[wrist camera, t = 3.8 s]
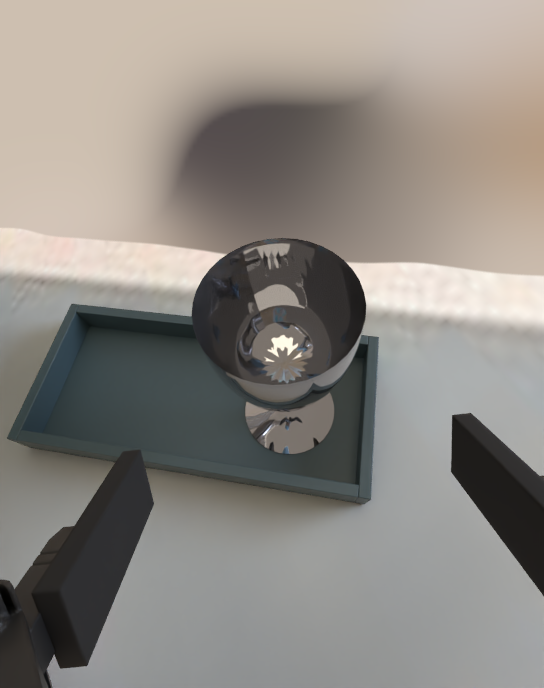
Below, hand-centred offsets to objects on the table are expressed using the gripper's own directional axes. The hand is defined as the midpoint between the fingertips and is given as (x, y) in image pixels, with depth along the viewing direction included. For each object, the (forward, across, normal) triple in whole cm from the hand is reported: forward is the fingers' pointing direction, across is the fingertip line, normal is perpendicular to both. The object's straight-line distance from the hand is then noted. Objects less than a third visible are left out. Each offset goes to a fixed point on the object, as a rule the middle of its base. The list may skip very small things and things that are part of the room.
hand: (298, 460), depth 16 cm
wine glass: (+14, 0, -5) cm, 15 cm away
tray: (+15, -7, -4) cm, 17 cm away
